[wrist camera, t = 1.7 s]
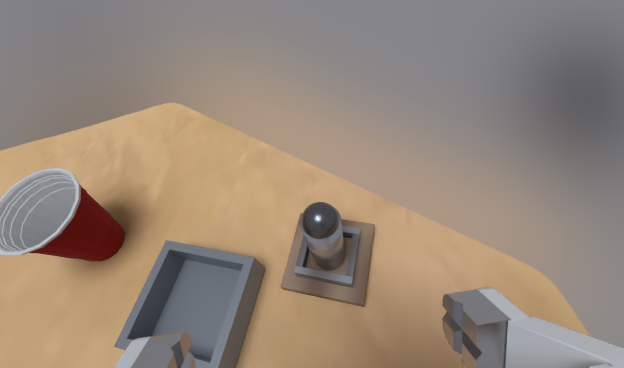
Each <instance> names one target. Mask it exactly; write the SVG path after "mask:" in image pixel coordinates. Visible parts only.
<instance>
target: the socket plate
mask: <svg viewBox="0 0 624 368" xmlns="http://www.w3.org/2000/svg"><path fill="white" fill-rule="evenodd" d="M301 216H302V213H301V214H300V218H299V221H298V225H297V229H296V232H295V236H294V240H293V244H292V247H291V251H290V255H289V258H288V262H287V266H286V270H285V273H284V277H283V281H282V284H281V288H282V289H284V290H288V291H293V292H298V293H302V294H307V295H312V296H316V297H321V298H326V299H330V300H335V301H339V302H344V303H349V304H353V305H358V306H363V307H364V302H365V294H366V286H367V279H368V271H369V264H370V256H371V248H372V241H373V233H374V225H375V224H369V223H362V222H355V221H349V220H342V219H341V224H342V232H343V239H344V247H345V260H344V262H343V264H342V265H341V266H340V267H339V268H337V269H335V270H332V271H327V270H323V269H321V268H320V267H318V266H317V264H316V263H315V261H314V259H313V256H312V254H311V251H310V249H309V247H308V244H307V242H306V240H305V237H304V235H303V233H302V230H301V227H300V219H301Z"/></svg>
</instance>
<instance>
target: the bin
mask: <svg viewBox="0 0 624 368" xmlns="http://www.w3.org/2000/svg"><path fill="white" fill-rule="evenodd" d="M264 272H265V268H264V267H263V266H262V265H261V264H260V263H259V262H258V261H257V260H256V259H255V258H254V257H249V256H244V255H239V254H234V253H229V252H224V251H218V250H213V249H208V248H203V247H198V246H193V245H188V244H182V243H177V242H172V241H167V240H166V242H165V244H164V246H163V248H162V250H161V252H160V254H159V256H158V258H157V260H156V262H155V264H154V266H153V268H152V270H151V272H150V274H149V276H148V279H147V281H146V283H145V285H144V287H143V289H142V291H141V293H140V295H139V297H138V299H137V301H136V303H135V305H134V307H133V309H132V311H131V313H130V315H129V317H128V319H127V321H126V323H125V325H124V327H123V329H122V331H121V333H120V335H119V338H118V340H117V342H116V344H115V346H114V347H117V348H120V349H124V350H126V349H127V347H128V346H129V344H130V343H131V342H132V341H133V340H135V339H136V338H143V337H150V336H152V337H153V336H157V335H165V334H173V333H182V332H186V333H188V334H189V337H190V341H191V345H190V347H189V350H188V351H189V352H190V353H191V354H192V355H193V356H194V359H195V366H196V368H235V367H236V364H237V361H238V357H239V354H240V351H241V347H242V344H243V341H244V338H245V334H246V331H247V328H248V324H249V321H250V318H251V314H252V311H253V308H254V305H255V301H256V298H257V295H258V291H259V288H260V285H261V281H262V278H263V275H264Z"/></svg>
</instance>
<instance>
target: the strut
mask: <svg viewBox="0 0 624 368" xmlns="http://www.w3.org/2000/svg"><path fill="white" fill-rule="evenodd" d="M300 227H301V230H302V233H303V235H304V237H305V240H306V242H307V244H308V247H309V249H310V251H311V254H312V256H313V259H314V261H315V263H316V264H317V266H318V267H320V268H321V269H323V270H327V271H332V270H335V269H337V268H339V267H340V266H341V265H342V264H343V262H344V260H345V247H344V239H343V232H342V224H341V217H340V214H339V212H338V211H337V210H336V209H335V208H334V207H333V206H331V205H329V204H327V203H324V202H316V203H313V204H311V205H309V206H308V207H307V208H306V209H305V211H304V212H303V214H302V216H301V219H300Z"/></svg>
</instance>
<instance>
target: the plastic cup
mask: <svg viewBox="0 0 624 368" xmlns="http://www.w3.org/2000/svg"><path fill="white" fill-rule="evenodd" d="M123 241H124V231H123V229H122V227H121V226H120V224H119V223H117V222H116V221H115V220H114V219H113V218H112V217H111V216H110V214H109V213H108V212H107V211H106V210H105V209H104V208H103V207H102V206H100V205H99V204H98V203H97V202H96V201H95V200H94V199H93V198H92V197H91V196H90V195H89V194H88V193H87V192H86V190H84V189H83V188H82V187H81V185H80V184H79V182H78V181H77V179H76V177H75V176H74V175H73V174H72V173H71V172H68V171H66V170H64V169H61V168H52V169H43V170H41V171H38V172H35V173H33V174H30V175H28V176H26V177H25V178H23V179H22V180H20V181H19V182H18V183H16V184H15V185H13V186H12V187H11V188H10V189H9V190H8V191H7V192H6V193H5V194H4V195H3V196H2V198H1V199H0V254H2V255H24V254H27V253H40V254H46V255H53V256H60V257H66V258H73V259H75V258H77V259H83V260H88V261H103V260H105V259H108V258H110V257H111V256H112V255H114V254H115V253H116V252H117V251H118V250H119V248H120V247H121V246H122V243H123Z"/></svg>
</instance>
